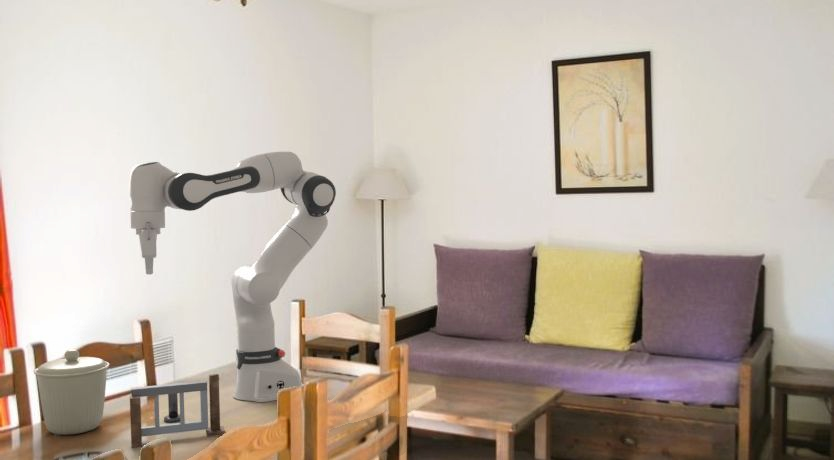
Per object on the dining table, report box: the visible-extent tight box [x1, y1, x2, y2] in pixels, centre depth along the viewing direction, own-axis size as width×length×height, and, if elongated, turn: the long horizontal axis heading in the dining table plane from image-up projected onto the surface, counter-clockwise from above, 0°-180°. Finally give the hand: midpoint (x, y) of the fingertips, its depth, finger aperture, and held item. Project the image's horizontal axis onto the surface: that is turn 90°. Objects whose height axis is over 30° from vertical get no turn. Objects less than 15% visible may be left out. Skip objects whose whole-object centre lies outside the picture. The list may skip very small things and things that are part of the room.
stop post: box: [163, 393, 180, 424], centre depth 214 cm, size 5×5×9 cm
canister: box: [33, 348, 111, 436], centre depth 206 cm, size 18×18×21 cm
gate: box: [130, 380, 209, 438], centre depth 197 cm, size 18×2×12 cm, turn 110°
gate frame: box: [129, 373, 226, 448], centre depth 197 cm, size 22×6×15 cm, turn 110°
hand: (149, 272), depth 215 cm, fingers open, 8 cm apart
